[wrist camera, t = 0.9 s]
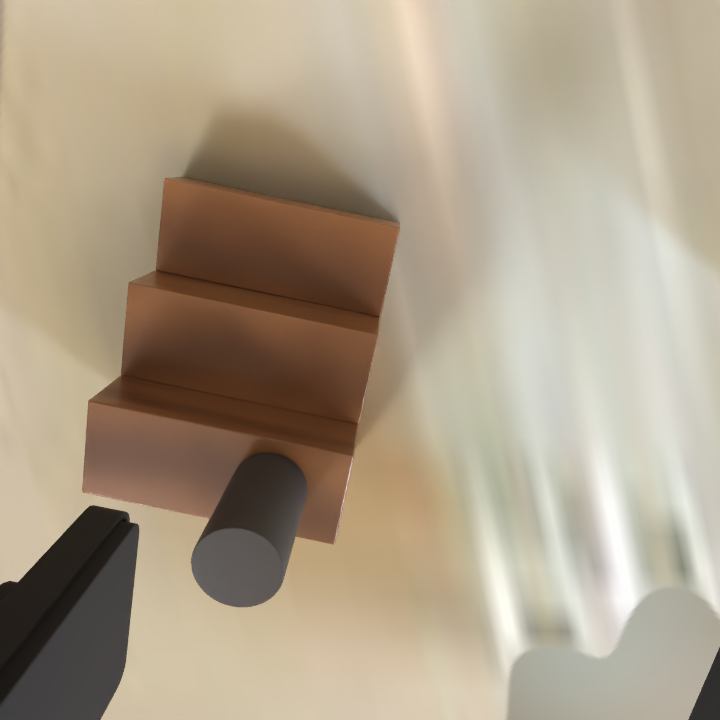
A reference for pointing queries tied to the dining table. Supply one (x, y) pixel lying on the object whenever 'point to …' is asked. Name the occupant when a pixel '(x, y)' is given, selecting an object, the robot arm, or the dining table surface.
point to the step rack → (243, 352)
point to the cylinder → (251, 532)
